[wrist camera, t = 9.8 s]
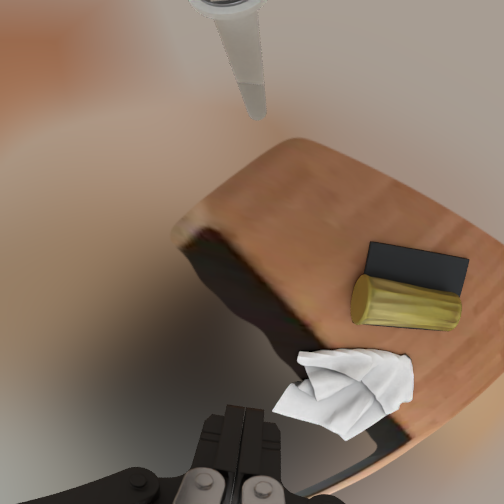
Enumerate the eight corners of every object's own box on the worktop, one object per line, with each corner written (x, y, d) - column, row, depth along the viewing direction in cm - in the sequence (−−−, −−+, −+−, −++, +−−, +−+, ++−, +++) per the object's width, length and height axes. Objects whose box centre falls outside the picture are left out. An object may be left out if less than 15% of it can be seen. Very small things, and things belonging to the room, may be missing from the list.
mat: (370, 241, 39) (371, 242, 38) (467, 258, 38) (469, 259, 38) (352, 321, 41) (353, 323, 40) (447, 329, 40) (449, 331, 40)
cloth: (426, 394, 43) (432, 402, 40) (312, 455, 46) (313, 465, 44) (381, 300, 40) (386, 307, 38) (245, 379, 44) (244, 389, 41)
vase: (347, 300, 41) (434, 312, 41) (353, 335, 36) (446, 343, 36) (362, 263, 38) (453, 280, 37) (372, 297, 32) (469, 311, 32)
